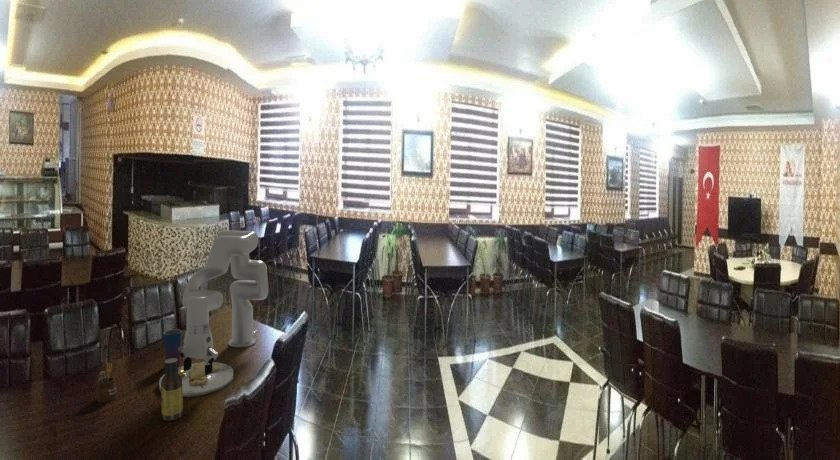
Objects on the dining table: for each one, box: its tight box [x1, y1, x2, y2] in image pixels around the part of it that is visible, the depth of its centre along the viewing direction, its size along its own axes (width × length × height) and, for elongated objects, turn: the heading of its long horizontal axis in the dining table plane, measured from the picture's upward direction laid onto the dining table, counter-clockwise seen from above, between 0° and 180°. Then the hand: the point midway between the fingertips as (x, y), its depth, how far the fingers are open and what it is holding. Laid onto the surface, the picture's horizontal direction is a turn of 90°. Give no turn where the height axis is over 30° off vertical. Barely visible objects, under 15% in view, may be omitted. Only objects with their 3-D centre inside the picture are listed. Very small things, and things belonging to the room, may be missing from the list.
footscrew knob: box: [189, 361, 208, 386], centre depth 163 cm, size 7×6×7 cm
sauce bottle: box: [160, 358, 184, 422], centre depth 143 cm, size 6×6×20 cm
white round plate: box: [158, 361, 234, 398], centre depth 169 cm, size 26×26×4 cm
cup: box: [162, 328, 183, 367], centre depth 182 cm, size 7×7×15 cm
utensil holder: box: [95, 362, 117, 403], centre depth 153 cm, size 6×6×12 cm
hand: (198, 371), depth 163 cm, fingers open, 9 cm apart
